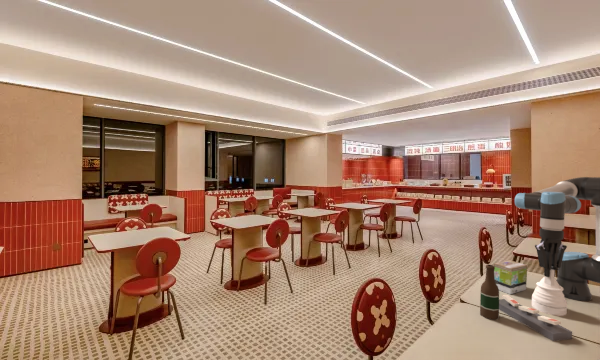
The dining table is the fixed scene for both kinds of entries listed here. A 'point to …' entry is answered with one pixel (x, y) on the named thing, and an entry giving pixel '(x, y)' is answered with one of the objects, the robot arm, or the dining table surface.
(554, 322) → the end rocker
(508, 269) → the tea box
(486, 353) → the dining table surface
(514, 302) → the rocker
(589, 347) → the dining table surface
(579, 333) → the dining table surface
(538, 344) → the dining table surface
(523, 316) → the power strip
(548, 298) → the honey pot
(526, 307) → the middle rocker
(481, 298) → the beer bottle
